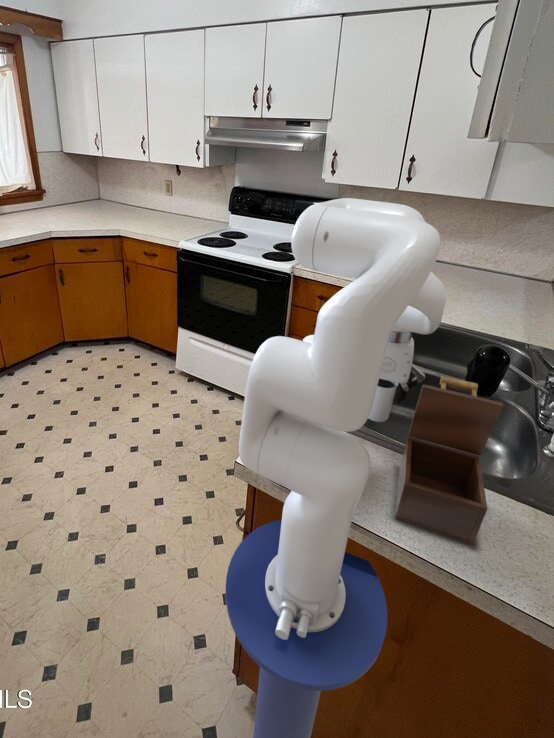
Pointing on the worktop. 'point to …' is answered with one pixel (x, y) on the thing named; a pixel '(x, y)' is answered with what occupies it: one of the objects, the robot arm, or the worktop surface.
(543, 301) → the worktop surface
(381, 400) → the white cup
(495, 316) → the worktop surface
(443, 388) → the lid
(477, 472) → the chest
